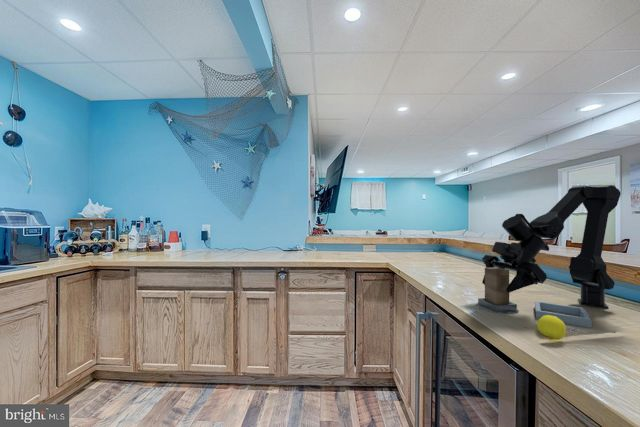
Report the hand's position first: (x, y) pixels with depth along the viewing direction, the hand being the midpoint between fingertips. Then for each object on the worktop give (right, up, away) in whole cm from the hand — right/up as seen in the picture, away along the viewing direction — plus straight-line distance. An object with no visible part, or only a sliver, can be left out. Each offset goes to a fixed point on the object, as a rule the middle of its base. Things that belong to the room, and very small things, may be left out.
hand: (494, 287), depth 85 cm
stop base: (+1, -7, 0) cm, 7 cm away
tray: (+14, -7, -7) cm, 17 cm away
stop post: (+1, -6, 0) cm, 6 cm away
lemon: (+2, -7, -18) cm, 20 cm away
